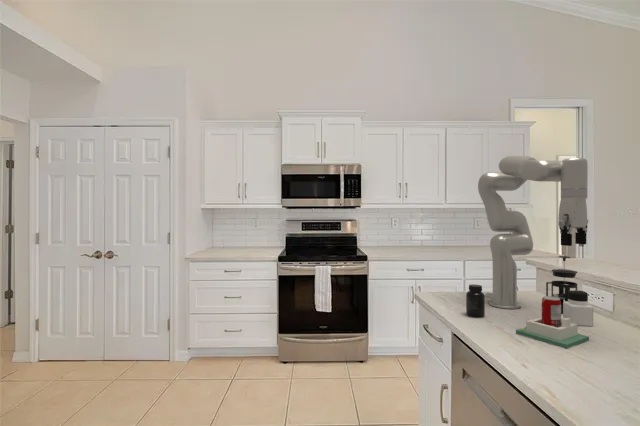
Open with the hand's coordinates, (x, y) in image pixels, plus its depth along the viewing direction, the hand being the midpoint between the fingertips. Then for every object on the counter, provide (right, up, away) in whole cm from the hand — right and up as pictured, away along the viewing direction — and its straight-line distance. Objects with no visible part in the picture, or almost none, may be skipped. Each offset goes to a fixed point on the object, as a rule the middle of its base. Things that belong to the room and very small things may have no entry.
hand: (573, 244), depth 125 cm
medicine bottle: (+10, -30, +12) cm, 34 cm away
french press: (+14, -30, +27) cm, 43 cm away
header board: (-10, -30, -3) cm, 32 cm away
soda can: (-10, -29, -3) cm, 31 cm away
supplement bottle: (-24, -30, +22) cm, 45 cm away
